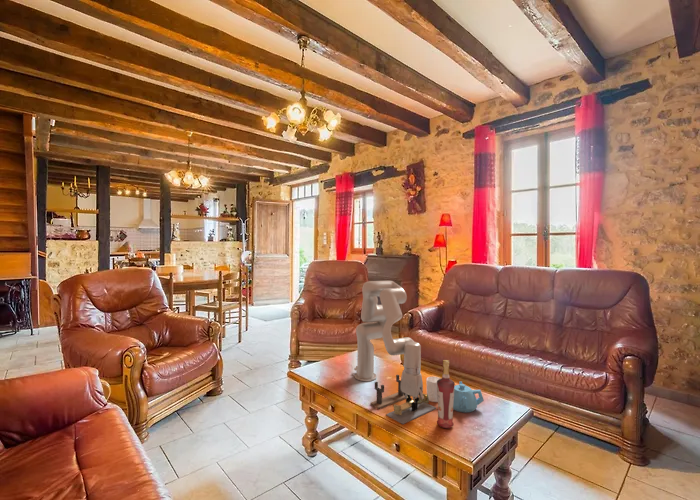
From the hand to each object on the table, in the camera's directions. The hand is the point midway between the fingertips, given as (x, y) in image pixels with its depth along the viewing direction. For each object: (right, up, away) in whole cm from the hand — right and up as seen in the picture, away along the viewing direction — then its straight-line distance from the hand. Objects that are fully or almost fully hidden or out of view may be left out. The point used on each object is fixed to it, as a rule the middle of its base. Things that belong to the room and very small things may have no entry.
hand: (411, 408), depth 160 cm
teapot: (+25, -2, +6) cm, 26 cm away
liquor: (+12, -2, -12) cm, 17 cm away
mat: (0, -2, 0) cm, 2 cm away
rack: (-9, -1, +11) cm, 14 cm away
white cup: (+14, -2, +13) cm, 19 cm away
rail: (0, 0, 0) cm, 1 cm away
